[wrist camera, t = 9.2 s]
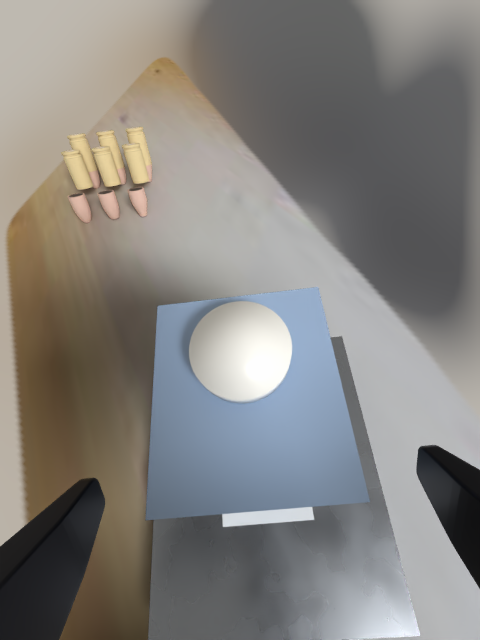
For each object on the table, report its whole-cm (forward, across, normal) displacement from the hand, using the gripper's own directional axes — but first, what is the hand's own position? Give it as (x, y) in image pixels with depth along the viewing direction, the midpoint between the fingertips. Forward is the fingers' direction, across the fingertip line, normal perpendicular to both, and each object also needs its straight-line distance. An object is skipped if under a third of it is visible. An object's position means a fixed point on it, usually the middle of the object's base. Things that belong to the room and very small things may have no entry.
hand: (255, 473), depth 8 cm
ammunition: (+26, +12, -11) cm, 31 cm away
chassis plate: (+8, 0, +7) cm, 11 cm away
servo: (+9, 0, +6) cm, 10 cm away
